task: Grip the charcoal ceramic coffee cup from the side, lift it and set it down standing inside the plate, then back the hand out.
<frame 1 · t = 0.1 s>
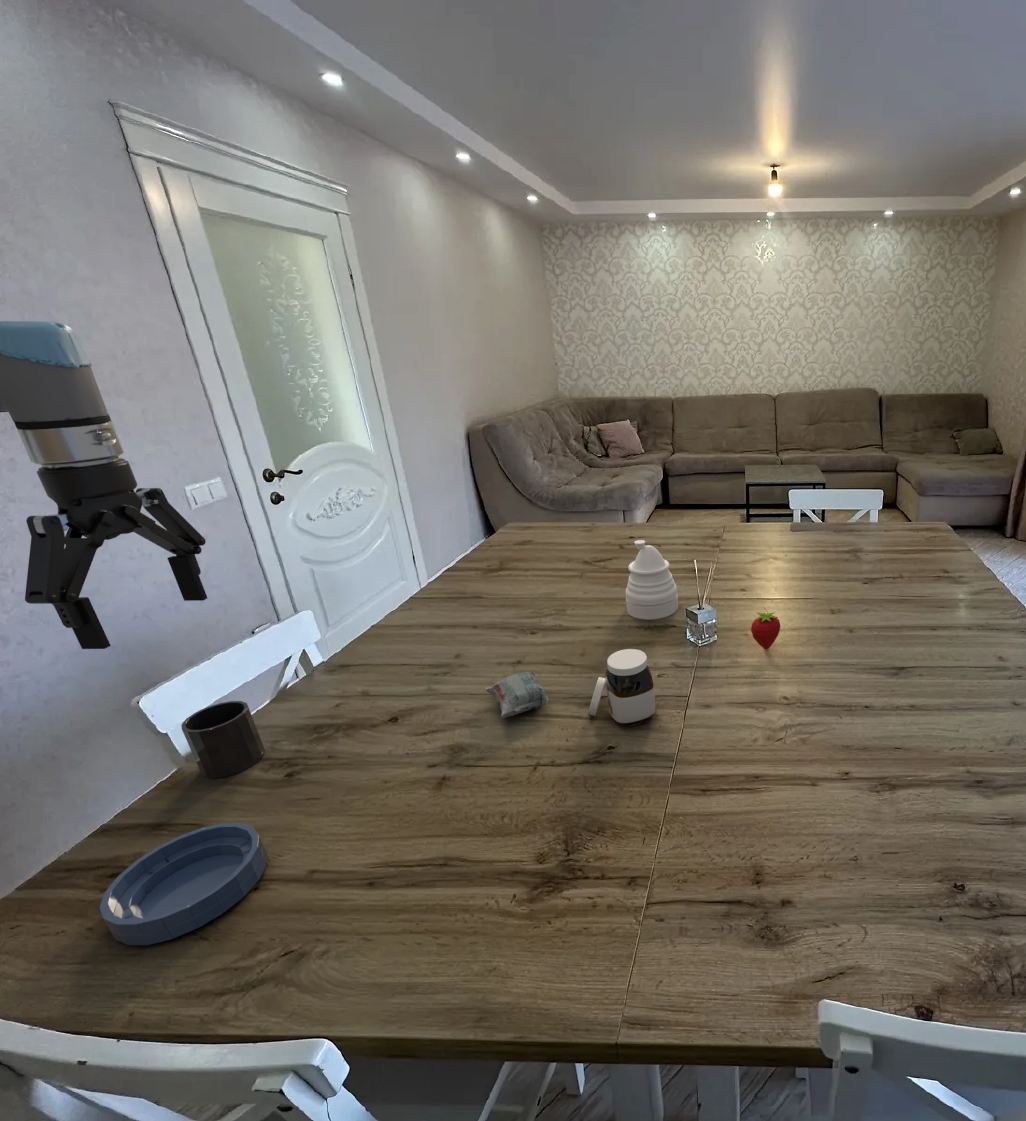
hand: (150, 621, 77), 30 cm above the table, tool pointing down, fingers open, 13 cm apart
strawberry: (765, 650, 128), on the table
packaged food: (518, 706, 109), on the table
coffee cup: (234, 761, 95), on the table
spread jar: (621, 715, 106), on the table
honey pot: (652, 608, 147), on the table
plate: (195, 892, 73), on the table
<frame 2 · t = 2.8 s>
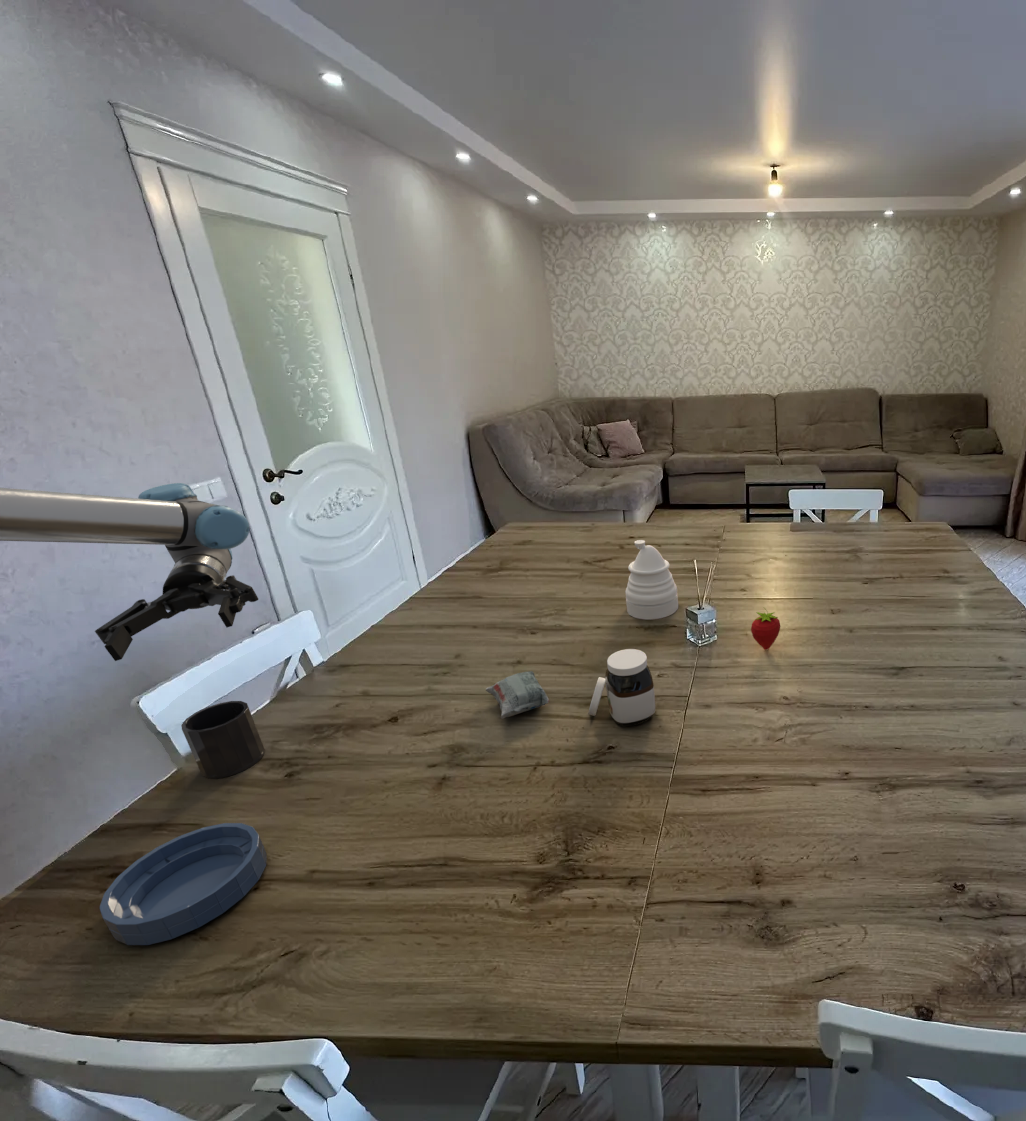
hand: (171, 636, 90), 22 cm above the table, tool horizontal, fingers open, 13 cm apart
nothing on the table moved.
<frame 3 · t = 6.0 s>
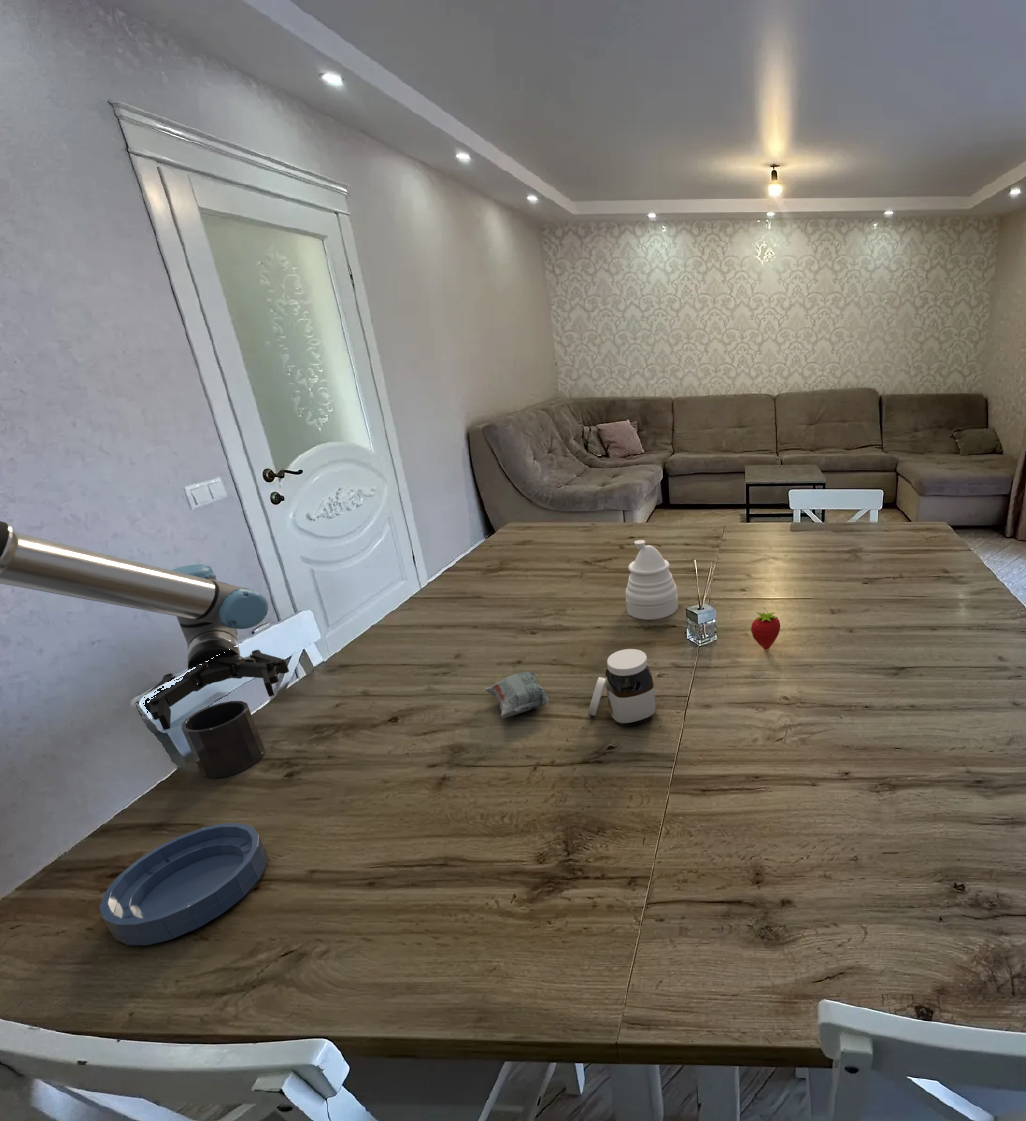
hand: (218, 705, 98), 7 cm above the table, tool horizontal, fingers open, 13 cm apart
nothing on the table moved.
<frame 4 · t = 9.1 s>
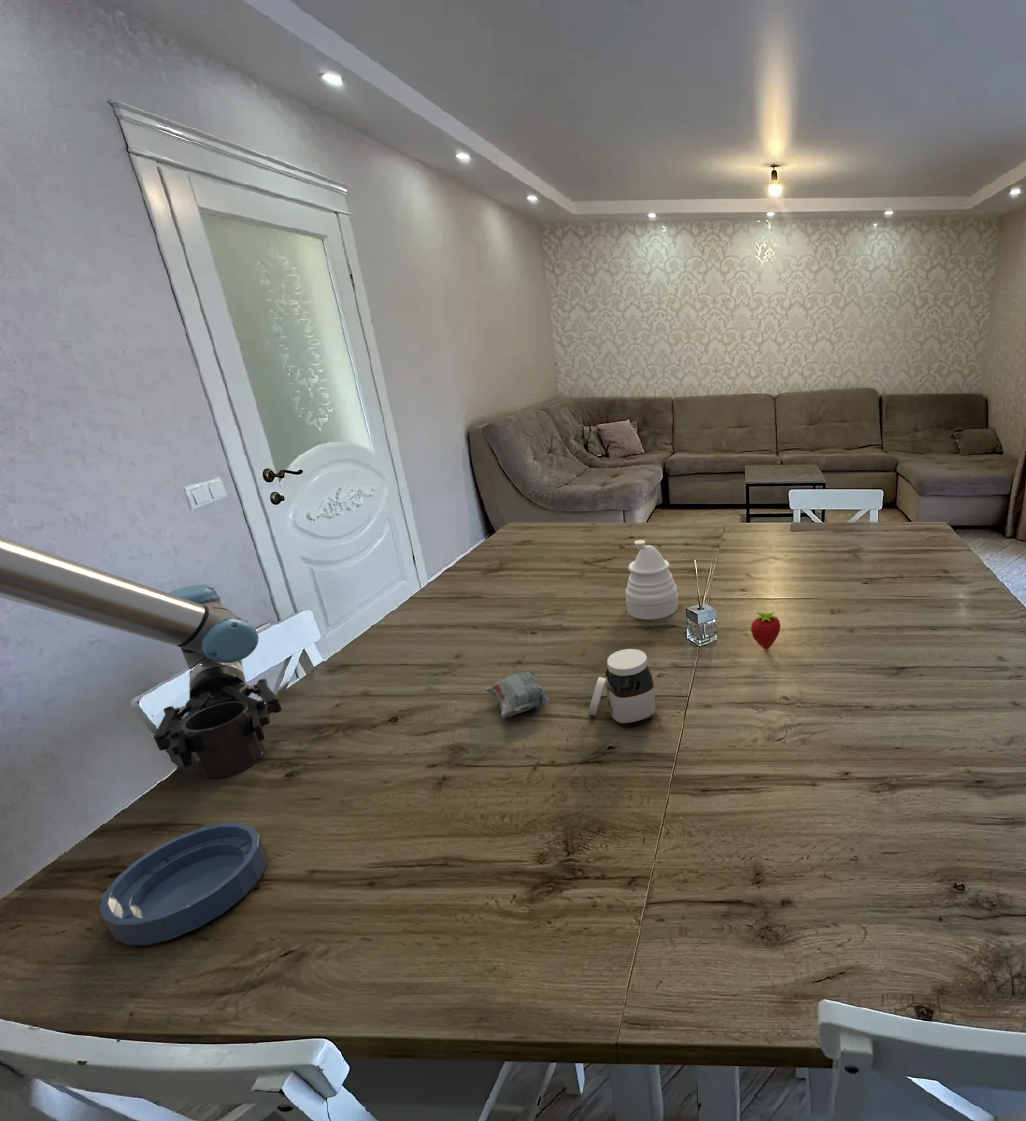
hand: (223, 745, 90), 6 cm above the table, tool horizontal, fingers closed on coffee cup, 8 cm apart
coffee cup: (234, 761, 95), on the table, touching gripper
everything else where it was.
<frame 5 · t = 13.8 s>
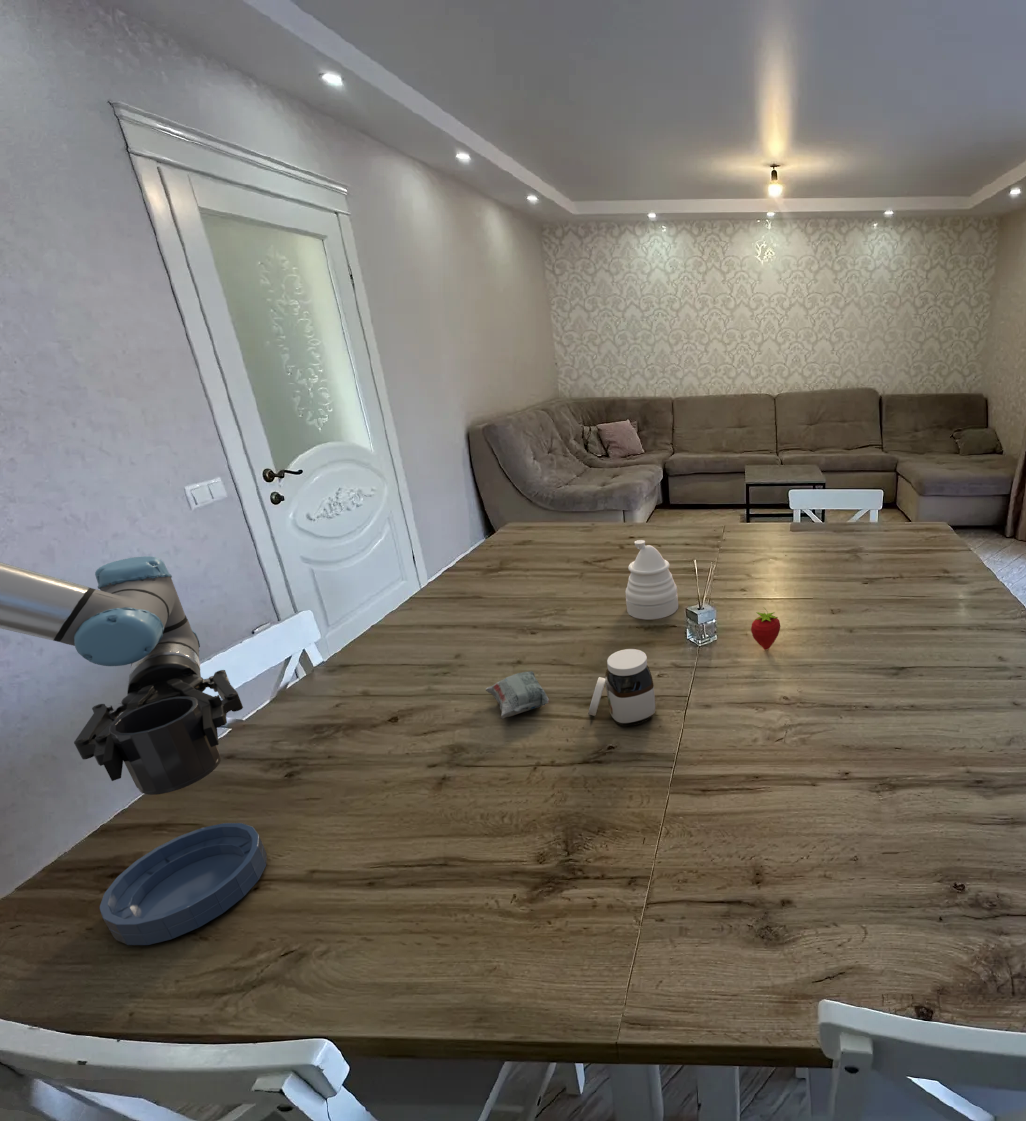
hand: (163, 753, 71), 18 cm above the table, tool horizontal, fingers closed on coffee cup, 8 cm apart
coffee cup: (181, 772, 76), point 12 cm above the table, touching gripper
everything else where it was.
when the fingers open (7 cm above the table, at t = 18.6 s): coffee cup stays where it is, resting on plate.
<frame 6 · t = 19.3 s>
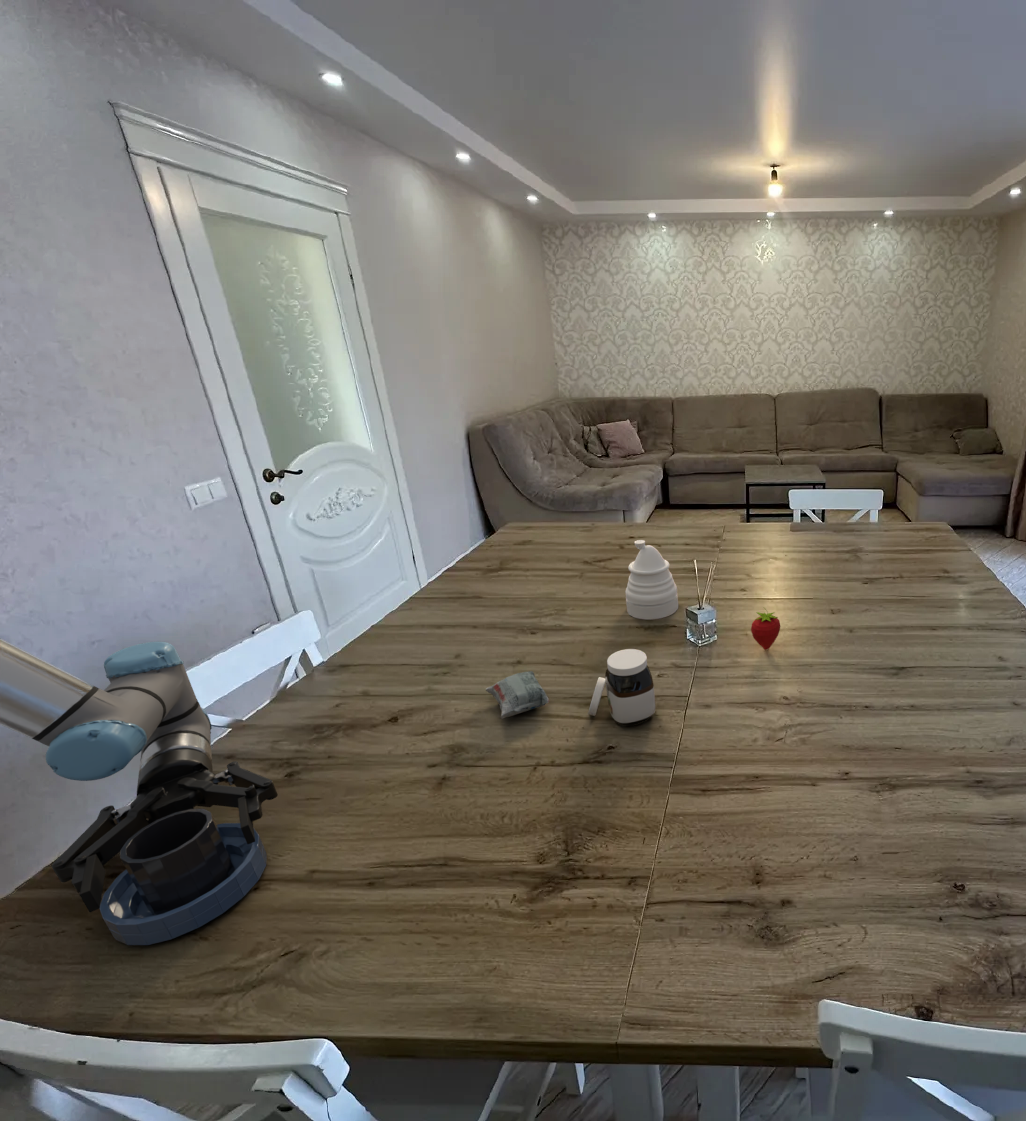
hand: (173, 866, 68), 7 cm above the table, tool horizontal, fingers open, 13 cm apart
coffee cup: (194, 888, 73), point 1 cm above the table, touching plate
everything else where it was.
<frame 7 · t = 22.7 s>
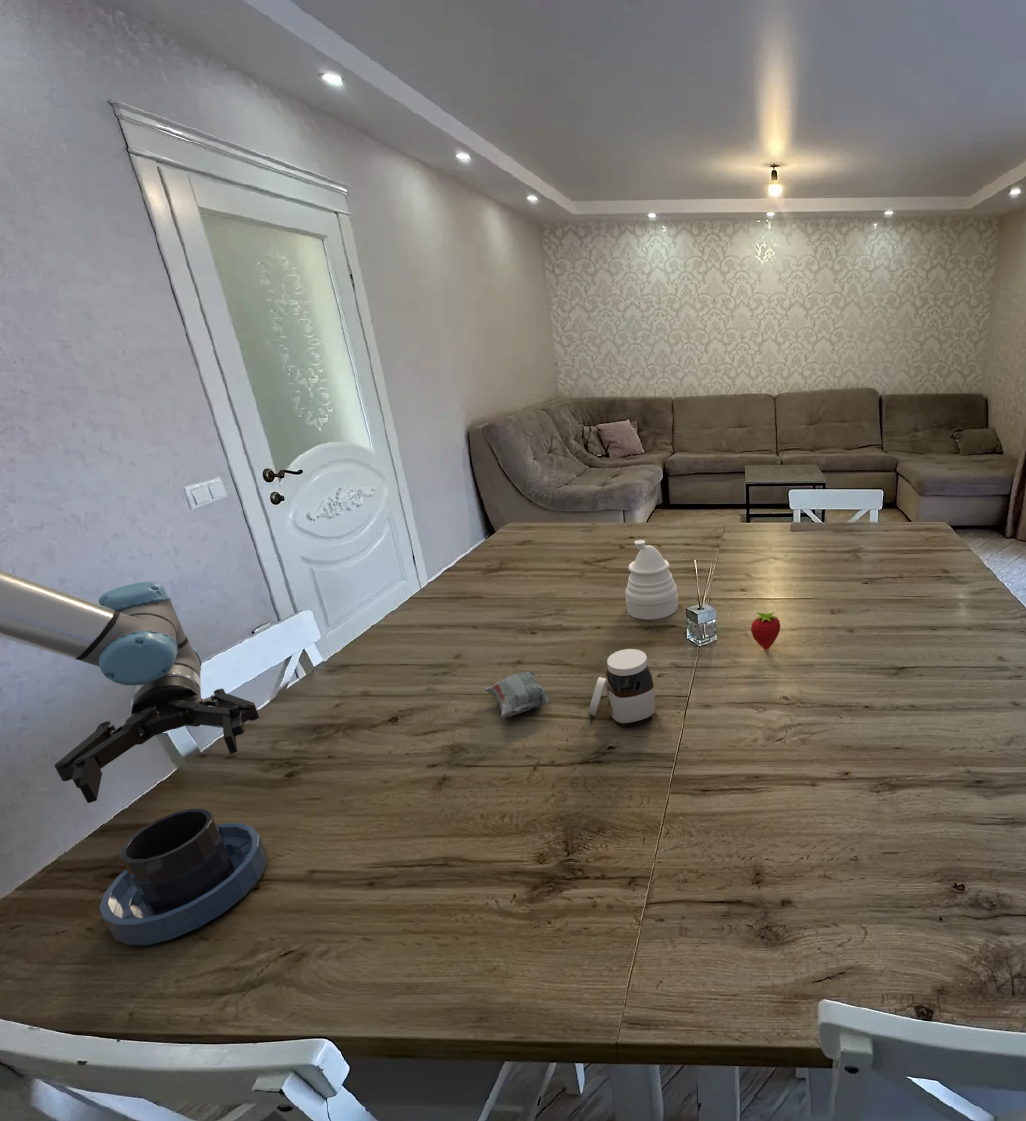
hand: (163, 768, 76), 12 cm above the table, tool horizontal, fingers open, 13 cm apart
nothing on the table moved.
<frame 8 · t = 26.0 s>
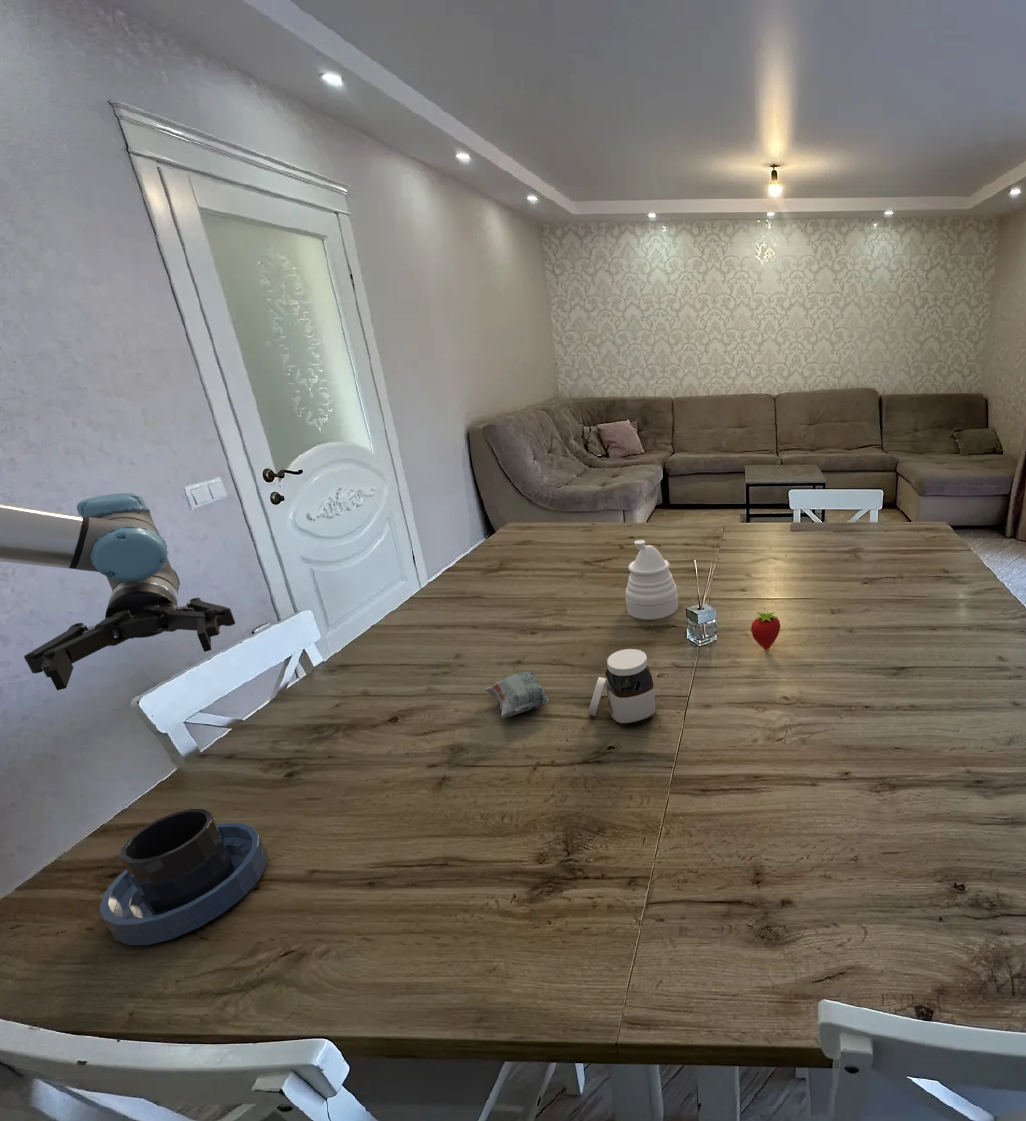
hand: (134, 660, 75), 26 cm above the table, tool horizontal, fingers open, 13 cm apart
nothing on the table moved.
at the end: coffee cup 0.0 cm off-centre in the plate, point 0.6 cm above the plate's base; coffee cup tilted 0°; the gripper is holding nothing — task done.
